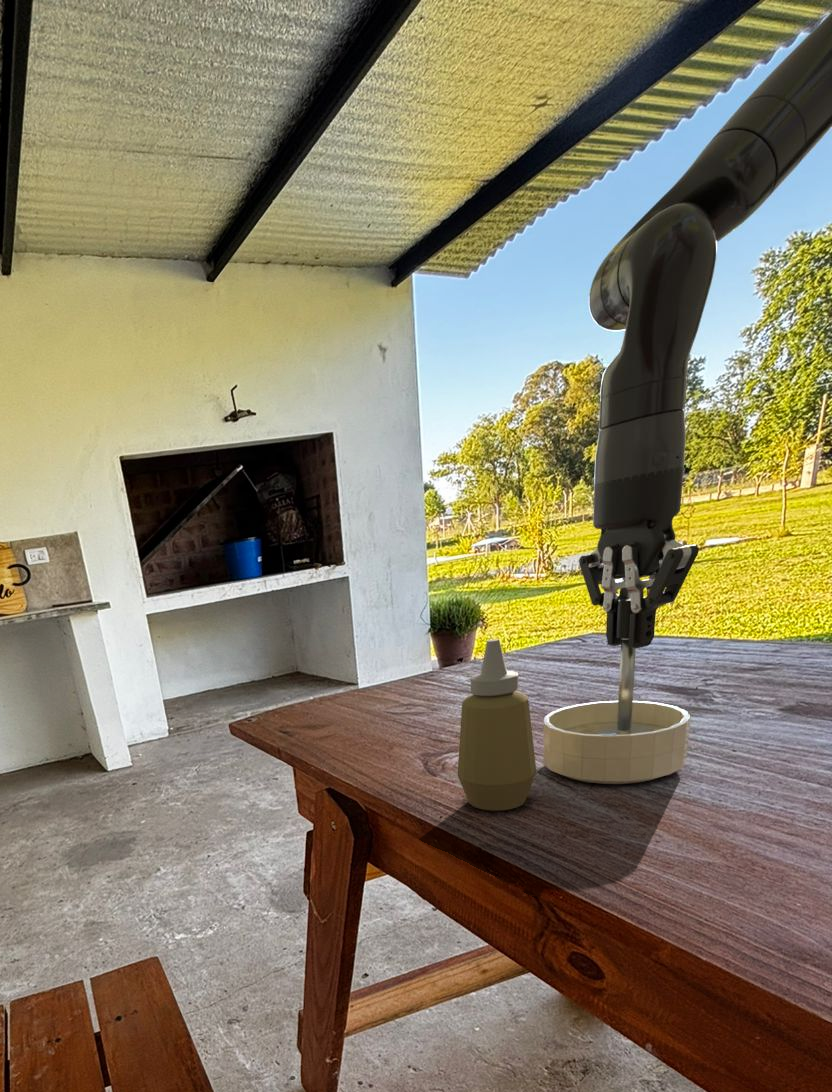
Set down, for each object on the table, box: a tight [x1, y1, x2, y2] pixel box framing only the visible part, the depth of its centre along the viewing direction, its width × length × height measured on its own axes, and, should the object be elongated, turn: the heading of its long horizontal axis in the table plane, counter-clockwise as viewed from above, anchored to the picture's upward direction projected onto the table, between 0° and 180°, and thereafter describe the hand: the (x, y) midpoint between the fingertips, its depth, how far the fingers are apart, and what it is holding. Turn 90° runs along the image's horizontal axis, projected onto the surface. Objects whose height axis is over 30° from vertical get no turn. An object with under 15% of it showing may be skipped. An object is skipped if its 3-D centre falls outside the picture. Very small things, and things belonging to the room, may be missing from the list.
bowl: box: [542, 700, 692, 785], centre depth 71 cm, size 14×14×6 cm
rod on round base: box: [596, 598, 653, 735], centre depth 69 cm, size 6×6×16 cm
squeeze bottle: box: [457, 638, 537, 812], centre depth 66 cm, size 8×8×18 cm
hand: (628, 644), depth 67 cm, fingers closed on rod on round base, 2 cm apart
